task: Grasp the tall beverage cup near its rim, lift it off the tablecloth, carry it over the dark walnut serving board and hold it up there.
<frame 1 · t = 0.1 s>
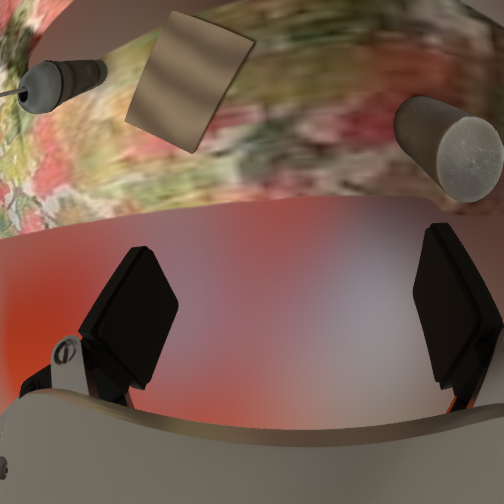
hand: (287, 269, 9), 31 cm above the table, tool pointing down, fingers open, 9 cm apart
pillar candle: (423, 126, 31), on the table
walnut board: (185, 80, 32), on the table
beverage cup: (96, 73, 32), on the table
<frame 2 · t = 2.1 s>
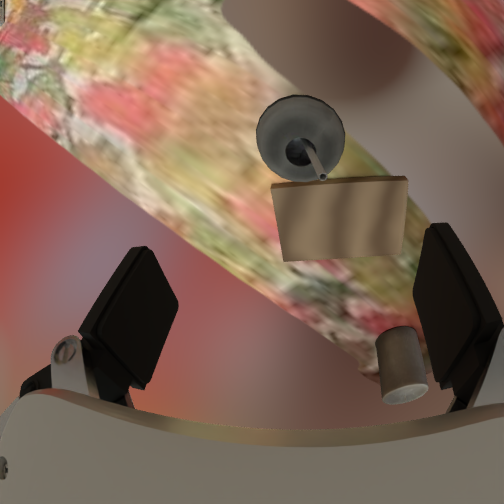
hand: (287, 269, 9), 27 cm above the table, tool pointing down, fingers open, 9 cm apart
pillar candle: (396, 338, 53), on the table
walnut board: (341, 217, 38), on the table
beverage cup: (300, 113, 30), on the table
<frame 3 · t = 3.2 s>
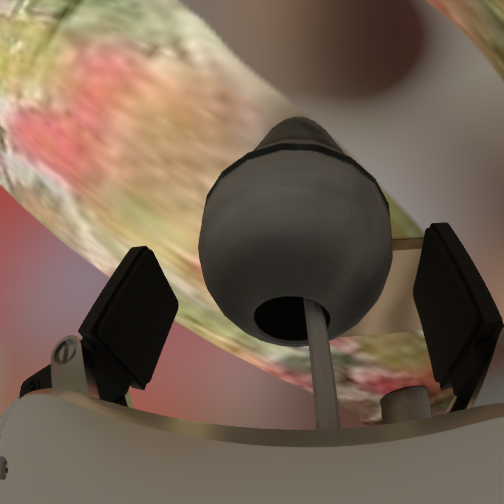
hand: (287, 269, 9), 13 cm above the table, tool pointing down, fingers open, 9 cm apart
pillar candle: (404, 395, 43), on the table
walnut board: (353, 290, 27), on the table
beverage cup: (298, 145, 20), on the table
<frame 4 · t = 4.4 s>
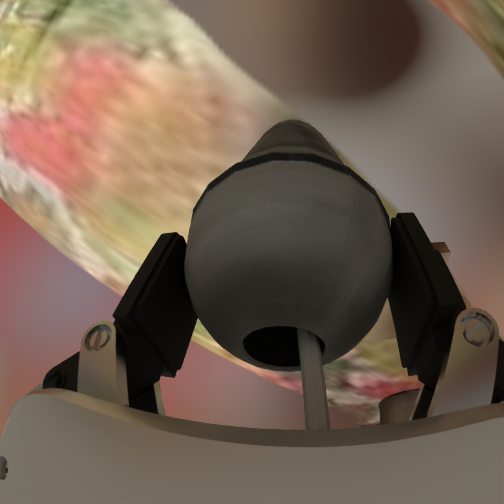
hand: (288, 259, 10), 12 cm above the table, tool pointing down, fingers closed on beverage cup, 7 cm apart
pillar candle: (403, 398, 42), on the table
walnut board: (350, 296, 27), on the table
beverage cup: (293, 149, 19), on the table, touching gripper
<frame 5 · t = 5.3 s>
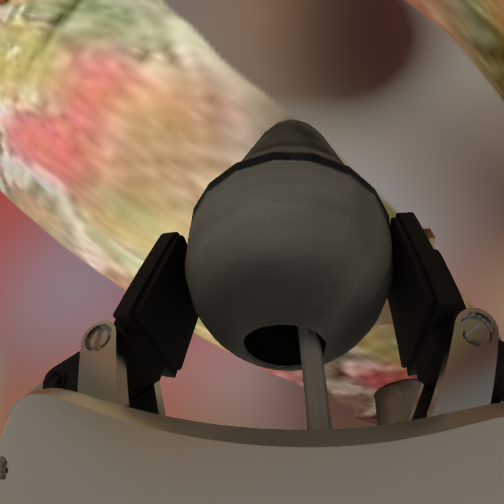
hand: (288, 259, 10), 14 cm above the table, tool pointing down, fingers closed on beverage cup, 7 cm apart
pillar candle: (398, 389, 44), on the table
walnut board: (341, 283, 28), on the table
beverage cup: (293, 149, 19), point 2 cm above the table, touching gripper
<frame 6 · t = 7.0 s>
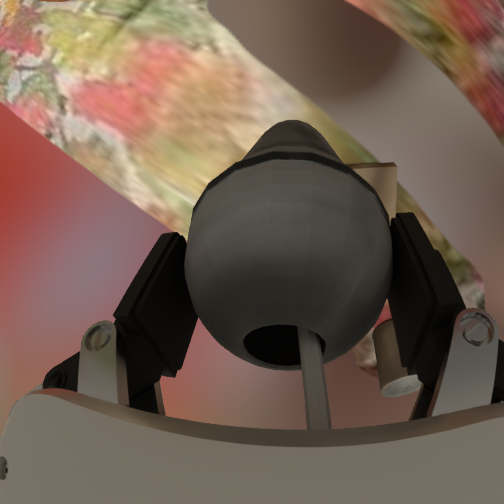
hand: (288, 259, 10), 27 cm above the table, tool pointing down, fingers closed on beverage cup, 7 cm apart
pillar candle: (393, 330, 53), on the table
walnut board: (332, 206, 38), on the table
beverage cup: (293, 149, 19), point 15 cm above the table, touching gripper
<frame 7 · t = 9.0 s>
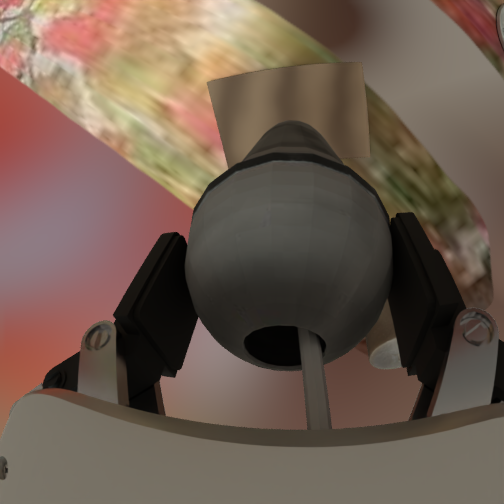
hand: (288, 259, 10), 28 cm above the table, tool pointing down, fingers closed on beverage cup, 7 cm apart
pillar candle: (384, 288, 47), on the table
walnut board: (292, 113, 31), on the table
beverage cup: (293, 149, 19), point 16 cm above the table, touching gripper
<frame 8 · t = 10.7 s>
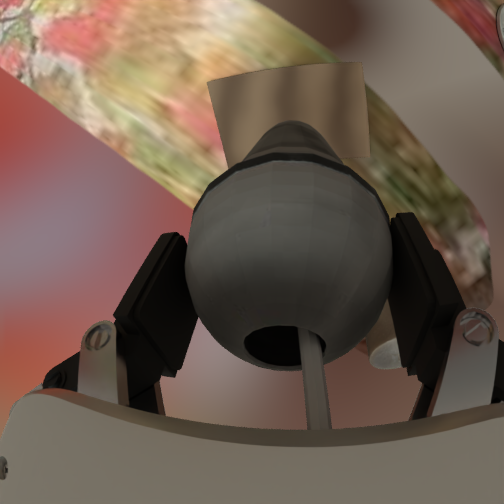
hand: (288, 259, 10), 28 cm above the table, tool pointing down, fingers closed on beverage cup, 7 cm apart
pillar candle: (384, 288, 47), on the table
walnut board: (292, 113, 31), on the table
beverage cup: (293, 149, 19), point 16 cm above the table, touching gripper
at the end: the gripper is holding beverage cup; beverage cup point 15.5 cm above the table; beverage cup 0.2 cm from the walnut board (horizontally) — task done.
